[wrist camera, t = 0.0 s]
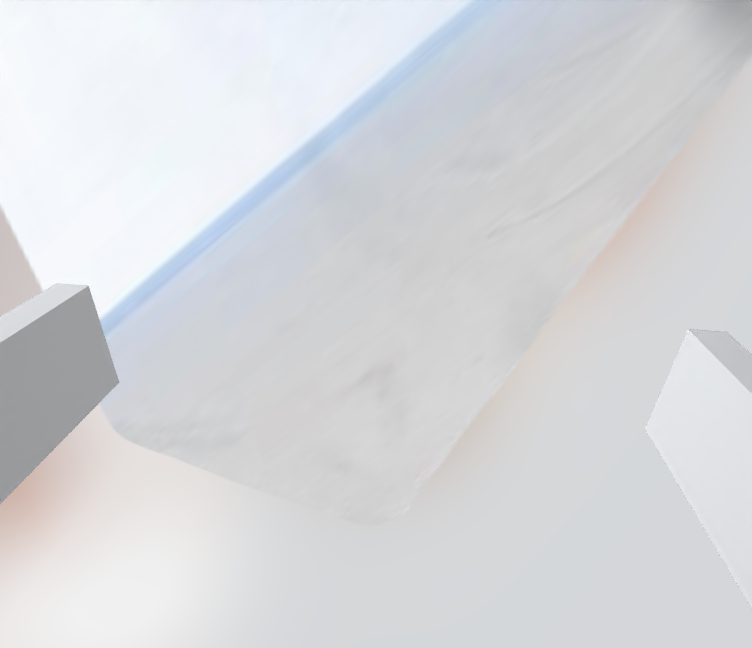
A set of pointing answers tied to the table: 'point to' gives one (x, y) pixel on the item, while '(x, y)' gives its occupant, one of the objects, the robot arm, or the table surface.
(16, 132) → the table surface
